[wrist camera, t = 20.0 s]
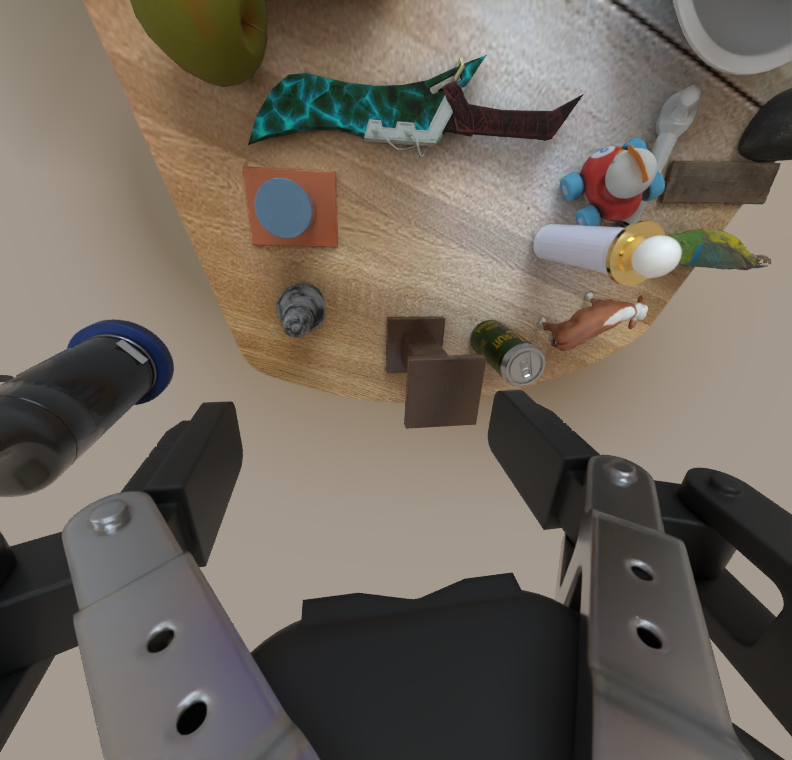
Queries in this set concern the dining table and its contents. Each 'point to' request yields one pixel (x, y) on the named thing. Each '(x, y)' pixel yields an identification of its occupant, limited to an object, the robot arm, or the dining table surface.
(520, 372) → the beer can
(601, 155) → the toy car
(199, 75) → the apple
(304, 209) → the blue cylinder
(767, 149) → the stone
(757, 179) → the wooden plank
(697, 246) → the bird model
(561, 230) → the perfume bottle
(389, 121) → the knife
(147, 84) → the dining table surface
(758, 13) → the soup bowl
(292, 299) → the chess piece
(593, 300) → the bull figurine
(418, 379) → the stand
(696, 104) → the bone
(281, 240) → the tile
